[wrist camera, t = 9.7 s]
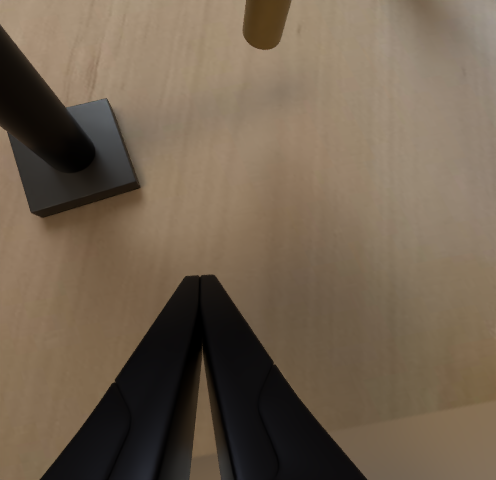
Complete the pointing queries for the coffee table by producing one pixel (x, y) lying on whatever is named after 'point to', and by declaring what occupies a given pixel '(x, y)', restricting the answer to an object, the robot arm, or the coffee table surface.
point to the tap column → (59, 140)
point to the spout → (265, 22)
